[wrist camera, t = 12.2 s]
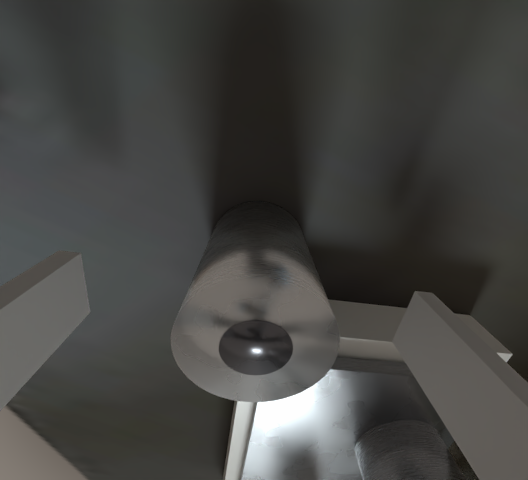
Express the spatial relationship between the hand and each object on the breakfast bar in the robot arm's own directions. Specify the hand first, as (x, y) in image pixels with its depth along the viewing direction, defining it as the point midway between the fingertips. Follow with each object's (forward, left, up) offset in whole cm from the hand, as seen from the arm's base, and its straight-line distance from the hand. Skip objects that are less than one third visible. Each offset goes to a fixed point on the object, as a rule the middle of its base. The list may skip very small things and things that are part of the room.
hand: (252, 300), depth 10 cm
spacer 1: (0, 0, -4) cm, 4 cm away
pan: (+11, +7, -1) cm, 13 cm away
